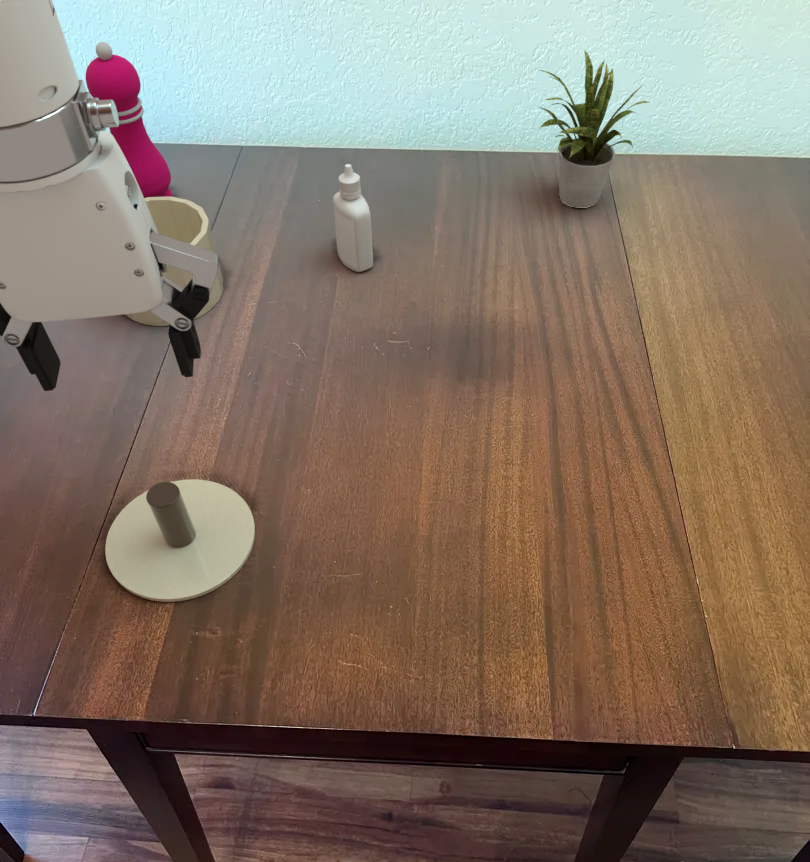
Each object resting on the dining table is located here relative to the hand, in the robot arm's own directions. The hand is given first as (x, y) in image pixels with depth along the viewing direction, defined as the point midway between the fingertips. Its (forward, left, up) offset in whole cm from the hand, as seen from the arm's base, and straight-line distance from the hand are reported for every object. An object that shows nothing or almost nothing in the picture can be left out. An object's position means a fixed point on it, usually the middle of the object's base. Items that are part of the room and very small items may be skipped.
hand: (121, 370), depth 56 cm
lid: (0, -1, -19) cm, 19 cm away
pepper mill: (-11, +54, -20) cm, 59 cm away
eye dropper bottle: (+16, +41, -20) cm, 48 cm away
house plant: (+45, +54, -20) cm, 73 cm away
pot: (-6, +36, -20) cm, 41 cm away
